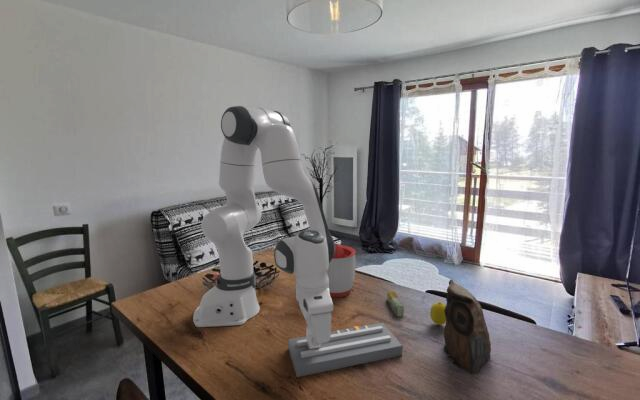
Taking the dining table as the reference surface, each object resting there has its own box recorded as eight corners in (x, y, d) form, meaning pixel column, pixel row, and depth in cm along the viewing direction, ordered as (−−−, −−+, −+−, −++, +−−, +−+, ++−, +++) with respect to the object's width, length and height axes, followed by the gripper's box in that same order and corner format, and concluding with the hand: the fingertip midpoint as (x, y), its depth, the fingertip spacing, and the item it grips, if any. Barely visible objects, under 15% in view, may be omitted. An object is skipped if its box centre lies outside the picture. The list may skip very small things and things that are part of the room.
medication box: (404, 317, 110) (404, 306, 109) (396, 317, 110) (396, 306, 109) (393, 300, 122) (394, 290, 121) (386, 300, 121) (387, 290, 121)
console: (296, 377, 82) (296, 363, 81) (288, 348, 93) (287, 335, 93) (402, 355, 90) (402, 342, 89) (382, 331, 101) (382, 319, 101)
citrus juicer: (315, 281, 138) (314, 236, 134) (356, 283, 135) (356, 238, 132) (309, 299, 122) (308, 249, 119) (354, 301, 120) (355, 250, 117)
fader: (309, 352, 86) (309, 335, 85) (306, 343, 90) (306, 327, 89) (320, 350, 87) (320, 333, 86) (316, 341, 91) (316, 325, 90)
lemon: (449, 330, 101) (450, 307, 100) (430, 329, 102) (432, 305, 101) (446, 321, 106) (447, 298, 105) (428, 319, 107) (429, 297, 106)
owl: (474, 378, 81) (480, 305, 77) (428, 355, 90) (431, 288, 86) (493, 355, 89) (499, 288, 85) (448, 336, 98) (452, 274, 95)
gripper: (293, 277, 95) (294, 320, 97) (310, 312, 75) (311, 364, 78) (314, 274, 96) (314, 317, 99) (335, 308, 77) (335, 359, 79)
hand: (313, 338), depth 88 cm, fingers closed on fader, 4 cm apart
